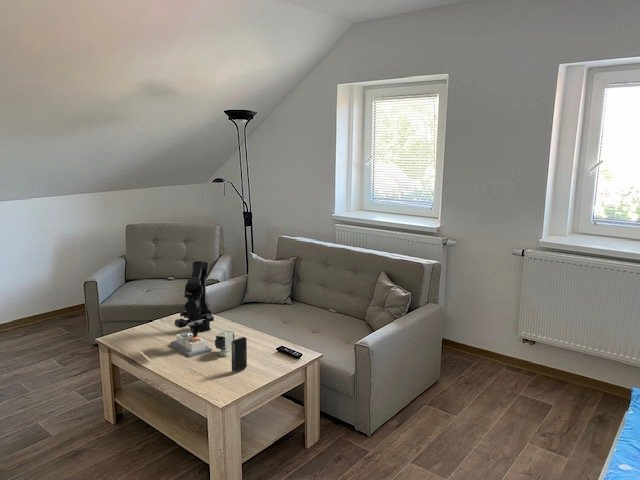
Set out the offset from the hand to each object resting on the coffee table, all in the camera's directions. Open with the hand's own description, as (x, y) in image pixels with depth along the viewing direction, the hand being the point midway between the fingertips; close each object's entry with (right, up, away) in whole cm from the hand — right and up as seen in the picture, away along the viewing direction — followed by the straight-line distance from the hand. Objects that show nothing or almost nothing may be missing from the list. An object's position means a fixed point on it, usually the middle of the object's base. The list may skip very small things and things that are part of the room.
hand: (194, 336), depth 247 cm
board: (-3, -7, +5) cm, 9 cm away
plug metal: (-7, -4, +8) cm, 11 cm away
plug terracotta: (0, -5, +1) cm, 5 cm away
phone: (+26, -11, -21) cm, 35 cm away
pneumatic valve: (+15, -8, -3) cm, 18 cm away
